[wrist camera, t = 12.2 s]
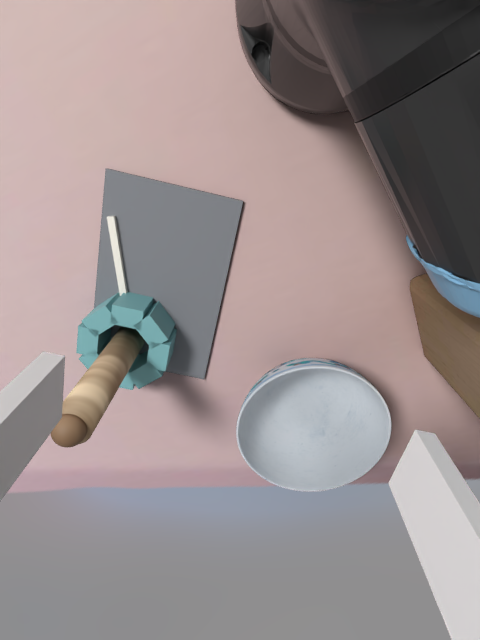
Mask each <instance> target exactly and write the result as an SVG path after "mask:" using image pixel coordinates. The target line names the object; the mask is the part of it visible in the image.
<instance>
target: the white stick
mask: <svg viewBox="0 0 480 640" xmlns="http://www.w3.org/2000/svg"><path fill="white" fill-rule="evenodd" d="M107 222H108V228H109V234H110V240H111V246H112V252H113V258H114V264H115V270H116V276H117V282H118V288H119V293H120V296H121V295H122V294H123V293H127V292H128V291H127V285H126V278H125V272H124V266H123V259H122V253H121V247H120V241H119V234H118V228H117V222H116V216H107Z"/></svg>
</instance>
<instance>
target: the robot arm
mask: <svg viewBox="0 0 480 640" xmlns="http://www.w3.org/2000/svg"><path fill="white" fill-rule="evenodd" d="M235 3H236V17H237V26H238V33H239V37H240V42H241V45H242V48H243V51H244V54H245V57H246V59H247V61H248V63H249V65H250V67H251V69H252V71H253V73H254V74H255V76H256V77H257V79H258V80H259V81H260V83H261V84H262V85H263V86H264V87H265V88H266V89H267V90H268V91H269V92H270V93H271V94H272V95H273V96H274V97H275V98H277V99H278V100H280V101H281V102H283V103H284V104H286V105H288V106H290V107H292V108H294V109H297V110H300V111H303V112H308V113H314V114H333V113H339V112H343V111H347V110H349V111H350V113H351V115H352V117H353V119H354V124H355V126H356V128H357V130H358V133H359V135H360V137H361V139H362V141H363V143H364V145H365V147H366V149H367V151H368V154H369V156H370V158H371V160H372V162H373V164H374V166H375V168H376V170H377V172H378V175H379V177H380V179H381V181H382V183H383V185H384V187H385V189H386V191H387V193H388V196H389V198H390V200H391V202H392V204H393V206H394V208H395V210H396V212H397V214H398V217H399V219H400V221H401V223H402V225H403V227H404V229H405V231H406V233H407V236H406V240H407V243H408V246H409V248H410V250H411V252H412V254H413V255H414V256H415V257H416V259H417V260H419V261H420V262H421V264H422V265H423V266H424V268H425V270H426V272H427V274H428V276H429V277H430V279H431V281H432V283H433V285H434V286H435V288H436V289H437V291H438V292H439V293H440V294H441V295H442V296H443V297H444V298H446V299H447V300H448V301H449V302H450V303H452V304H453V305H454V306H455V307H457V308H459V309H460V310H462V311H464V312H466V313H468V314H471V315H473V316H476V317H479V318H480V0H235ZM64 366H65V356H63V355H59V354H54V353H49V352H44V351H43V352H42V353H41V354H40V355H39V356H38V357H37V358H36V359H35V360H34V361H32V362H31V363H30V364H29V365H28V366H27V367H26V368H25V369H24V370H23V371H22V372H21V373H20V374H18V375H17V376H16V377H15V378H14V379H13V380H12V381H11V382H10V383H9V384H8V385H7V386H6V387H4V388H3V389H2V390H1V391H0V501H1V500H2V498H3V497H4V496H5V494H6V493H7V492H8V490H9V489H10V487H11V486H12V485H13V483H14V482H15V481H16V479H17V478H18V477H19V475H20V474H21V473H22V471H23V470H24V468H25V467H26V466H27V464H28V463H29V462H30V460H31V459H32V458H33V456H34V455H35V453H36V452H37V451H38V449H39V448H40V447H41V445H42V444H43V443H44V441H45V440H46V439H47V437H48V436H49V434H50V433H51V432H52V430H53V429H54V428H55V426H56V425H57V424H58V422H59V421H60V419H61V418H62V406H63V386H64ZM388 484H389V486H390V489H391V491H392V494H393V496H394V498H395V501H396V503H397V506H398V508H399V511H400V513H401V516H402V518H403V520H404V523H405V526H406V528H407V531H408V533H409V535H410V538H411V540H412V543H413V545H414V548H415V550H416V553H417V555H418V557H419V560H420V563H421V565H422V568H423V570H424V572H425V575H426V577H427V580H428V582H429V585H430V587H431V590H432V592H433V595H434V597H435V600H436V602H437V604H438V607H439V609H440V612H441V614H442V617H443V619H444V622H445V624H446V627H447V629H448V632H449V634H450V637H451V639H452V640H480V503H479V502H478V500H477V498H476V497H475V495H474V494H473V492H472V491H471V489H470V487H469V486H468V485H467V483H466V481H465V480H464V478H463V477H462V475H461V473H460V472H459V470H458V469H457V467H456V466H455V464H454V463H453V461H452V459H451V458H450V456H449V455H448V453H447V452H446V450H445V449H444V447H443V445H442V444H441V442H440V441H439V439H438V438H437V436H436V435H435V434H434V433H430V432H425V431H420V430H415V431H414V433H413V435H412V437H411V439H410V441H409V443H408V445H407V447H406V449H405V451H404V453H403V455H402V457H401V459H400V461H399V463H398V465H397V467H396V469H395V471H394V473H393V475H392V477H391V479H390V481H389V483H388Z"/></svg>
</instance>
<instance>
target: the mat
mask: <svg viewBox="0 0 480 640" xmlns="http://www.w3.org/2000/svg"><path fill="white" fill-rule="evenodd" d="M242 205H243V201H242V200H237V199H233V198H229V197H225V196H221V195H216V194H212V193H208V192H204V191H200V190H195V189H191V188H187V187H183V186H179V185H174V184H170V183H166V182H162V181H158V180H153V179H149V178H145V177H141V176H137V175H132V174H128V173H124V172H120V171H116V170H111V169H106V171H105V183H104V195H103V207H102V219H101V231H100V243H99V255H98V267H97V279H96V291H95V303H94V308H96V307H97V306H98V305H100V304H101V303H103V302H104V301H106V300H107V299H109V298H110V297H112V296H114V295H115V294H117V293H118V292H119V288H118V282H117V276H116V270H115V264H114V258H113V252H112V246H111V240H110V234H109V228H108V222H107V216H116V222H117V228H118V234H119V241H120V247H121V253H122V259H123V266H124V272H125V278H126V285H127V291H128V292H131V293H135V294H140V295H144V296H149V297H153V303H152V305H153V304H155V303H156V302H158V301H159V302H160V303H161V305H162V306H163V307H164V309H165V310H166V311H167V313H168V314H169V315H170V317H171V318H172V319H173V321H174V322H175V323H176V324H175V326H174V329H177V332H176V338H175V344H174V349H173V354H172V356H171V359H170V361H169V364H168V366H167V369H166V372H171V373H176V374H181V375H186V376H190V377H195V378H200V379H204V377H205V373H206V368H207V364H208V359H209V354H210V350H211V345H212V341H213V336H214V332H215V327H216V323H217V318H218V314H219V309H220V304H221V300H222V295H223V291H224V286H225V282H226V277H227V273H228V268H229V264H230V259H231V255H232V250H233V245H234V241H235V236H236V232H237V227H238V223H239V218H240V214H241V209H242ZM120 327H121V326H119V325H114V326H112V327H111V335H110V336H111V337H112V338H113V337H114V335H115V334H116V333H117V331H118V330H119V329H120ZM147 350H149V345H148V343H147V342H146V341H145V343H144V345H143V347H142V348H141V350H140V352H139V354H142V353H144V352H146V351H147Z"/></svg>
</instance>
